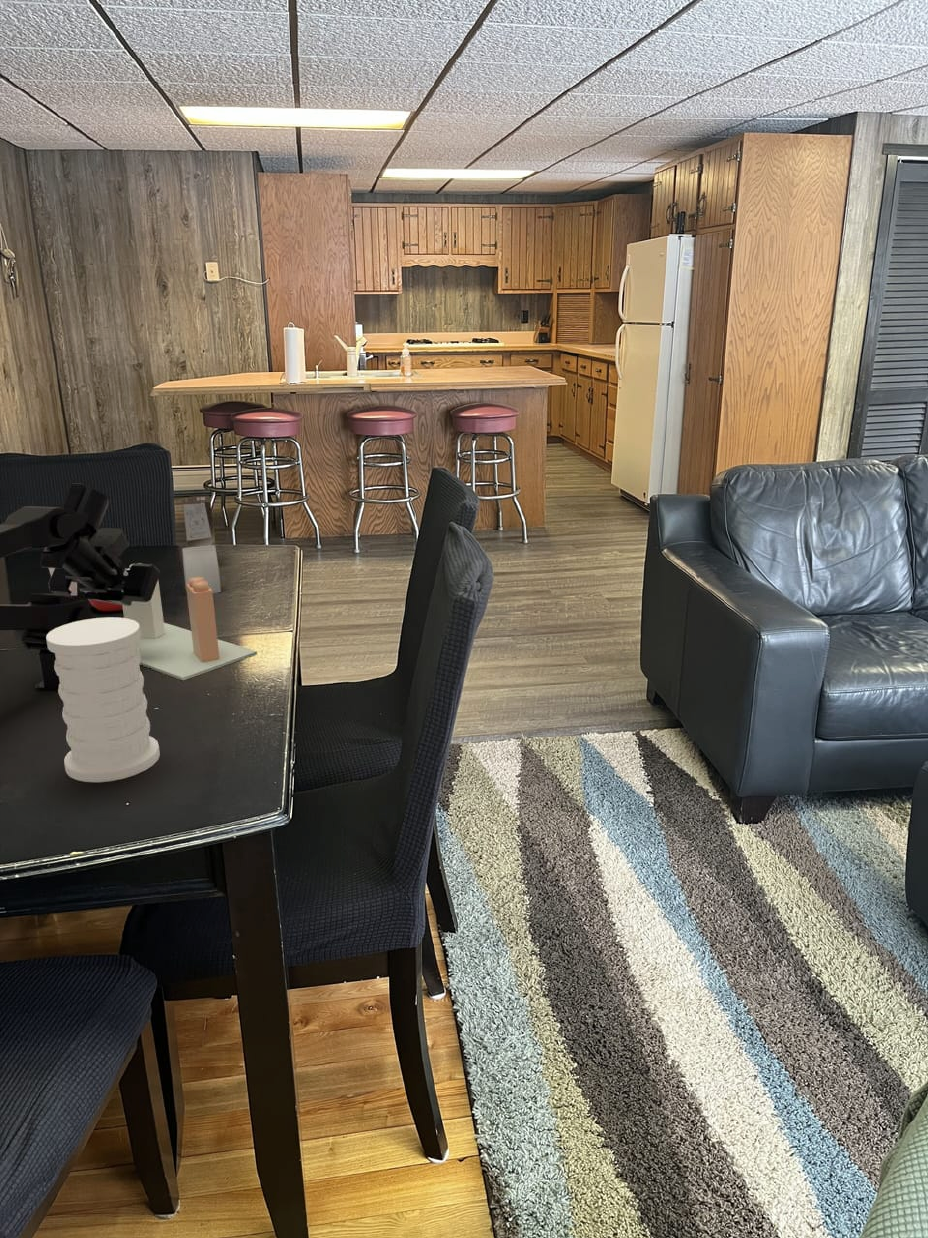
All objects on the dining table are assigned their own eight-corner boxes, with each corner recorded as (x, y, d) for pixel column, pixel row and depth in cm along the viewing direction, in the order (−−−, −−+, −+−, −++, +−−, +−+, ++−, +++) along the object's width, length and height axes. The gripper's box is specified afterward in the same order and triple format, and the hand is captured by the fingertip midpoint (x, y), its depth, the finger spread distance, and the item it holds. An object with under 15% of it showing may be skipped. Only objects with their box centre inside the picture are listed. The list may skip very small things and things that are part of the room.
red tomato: (86, 618, 175) (78, 572, 172) (92, 603, 184) (84, 560, 181) (139, 612, 178) (131, 567, 174) (142, 597, 187) (135, 555, 184)
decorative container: (170, 740, 121) (154, 615, 116) (144, 781, 110) (125, 645, 105) (85, 742, 121) (64, 617, 115) (50, 784, 110) (26, 647, 104)
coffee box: (218, 568, 209) (211, 501, 204) (189, 571, 207) (182, 503, 202) (216, 559, 217) (209, 494, 212) (189, 562, 216) (181, 496, 211)
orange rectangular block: (201, 662, 148) (193, 586, 144) (193, 651, 153) (185, 577, 149) (219, 658, 150) (211, 583, 146) (211, 648, 155) (203, 575, 151)
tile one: (155, 638, 160) (146, 568, 156) (126, 636, 162) (116, 566, 157) (165, 633, 163) (156, 563, 159) (136, 631, 164) (126, 562, 160)
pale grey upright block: (221, 592, 190) (216, 547, 187) (188, 596, 188) (183, 550, 185) (218, 588, 193) (213, 543, 190) (186, 592, 191) (181, 546, 188)
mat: (183, 680, 142) (182, 677, 142) (86, 644, 159) (85, 642, 159) (257, 654, 153) (256, 651, 153) (158, 623, 170) (158, 620, 170)
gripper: (146, 518, 144) (190, 566, 158) (48, 514, 149) (99, 561, 162) (123, 577, 140) (171, 622, 153) (23, 571, 144) (78, 615, 158)
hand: (129, 603), depth 157 cm, fingers closed
